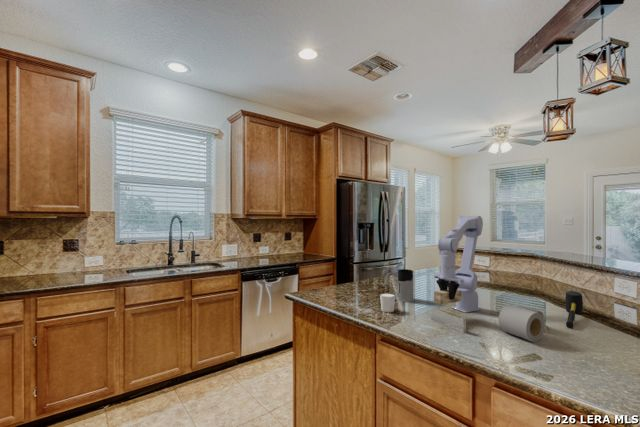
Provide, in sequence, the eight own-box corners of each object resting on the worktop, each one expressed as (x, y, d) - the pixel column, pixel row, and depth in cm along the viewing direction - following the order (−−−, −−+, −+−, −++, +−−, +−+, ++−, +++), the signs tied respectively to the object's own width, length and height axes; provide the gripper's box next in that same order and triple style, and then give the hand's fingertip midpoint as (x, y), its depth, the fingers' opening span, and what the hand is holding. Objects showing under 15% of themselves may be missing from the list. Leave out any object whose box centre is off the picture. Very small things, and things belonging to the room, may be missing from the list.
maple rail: (454, 299, 135) (454, 288, 135) (461, 301, 132) (461, 290, 132) (434, 302, 130) (434, 291, 130) (440, 304, 127) (440, 293, 127)
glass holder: (416, 301, 155) (416, 272, 155) (388, 301, 155) (388, 272, 155) (411, 297, 164) (411, 269, 164) (384, 297, 164) (384, 269, 164)
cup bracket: (473, 330, 116) (473, 317, 116) (463, 332, 114) (463, 319, 114) (440, 317, 131) (440, 306, 131) (431, 319, 129) (431, 307, 129)
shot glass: (395, 313, 137) (395, 297, 137) (380, 312, 139) (379, 296, 139) (395, 308, 144) (395, 293, 144) (380, 307, 145) (380, 292, 146)
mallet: (580, 331, 116) (580, 306, 116) (560, 327, 120) (559, 303, 120) (583, 313, 138) (583, 291, 138) (566, 310, 142) (566, 289, 142)
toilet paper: (498, 333, 114) (498, 306, 114) (516, 329, 118) (516, 303, 118) (526, 344, 104) (526, 314, 104) (544, 339, 108) (544, 311, 108)
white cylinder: (538, 332, 115) (538, 311, 115) (513, 326, 121) (513, 306, 121) (546, 326, 122) (546, 306, 122) (522, 320, 128) (523, 302, 128)
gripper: (428, 264, 136) (428, 294, 136) (454, 269, 123) (455, 303, 123) (440, 263, 139) (440, 293, 139) (467, 268, 126) (467, 301, 126)
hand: (448, 297), depth 131 cm, fingers closed on maple rail, 3 cm apart
